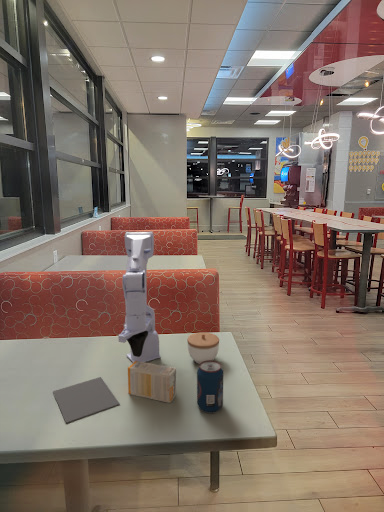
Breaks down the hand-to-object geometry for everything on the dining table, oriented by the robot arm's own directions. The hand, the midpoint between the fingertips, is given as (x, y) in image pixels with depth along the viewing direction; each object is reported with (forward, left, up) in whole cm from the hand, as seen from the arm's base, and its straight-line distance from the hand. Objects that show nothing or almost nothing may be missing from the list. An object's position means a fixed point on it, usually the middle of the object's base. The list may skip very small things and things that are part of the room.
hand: (137, 355), depth 102 cm
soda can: (-11, +22, -9) cm, 26 cm away
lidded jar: (-24, 0, -9) cm, 26 cm away
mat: (+16, 0, -8) cm, 18 cm away
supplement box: (+3, +3, -4) cm, 6 cm away
